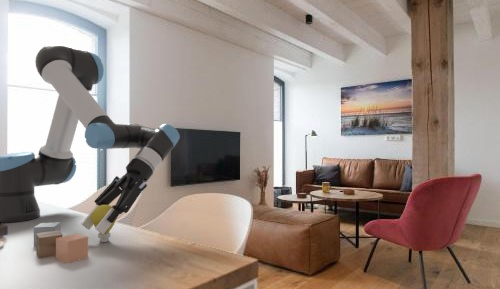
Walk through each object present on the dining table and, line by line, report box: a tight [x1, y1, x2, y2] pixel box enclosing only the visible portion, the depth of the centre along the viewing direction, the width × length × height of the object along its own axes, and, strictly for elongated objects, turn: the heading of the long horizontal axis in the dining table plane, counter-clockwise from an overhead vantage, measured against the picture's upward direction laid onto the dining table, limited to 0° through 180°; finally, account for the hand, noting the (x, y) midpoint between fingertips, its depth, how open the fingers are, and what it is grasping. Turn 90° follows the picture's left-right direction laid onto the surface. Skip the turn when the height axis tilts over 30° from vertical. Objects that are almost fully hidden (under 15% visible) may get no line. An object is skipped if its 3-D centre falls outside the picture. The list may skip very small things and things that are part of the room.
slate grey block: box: [33, 221, 61, 247], centre depth 96 cm, size 5×5×5 cm
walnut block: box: [35, 230, 64, 259], centre depth 87 cm, size 5×5×5 cm
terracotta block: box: [55, 233, 89, 264], centre depth 83 cm, size 5×5×5 cm
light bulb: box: [91, 204, 118, 243], centre depth 97 cm, size 7×7×10 cm
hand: (91, 229), depth 94 cm, fingers closed on light bulb, 7 cm apart
